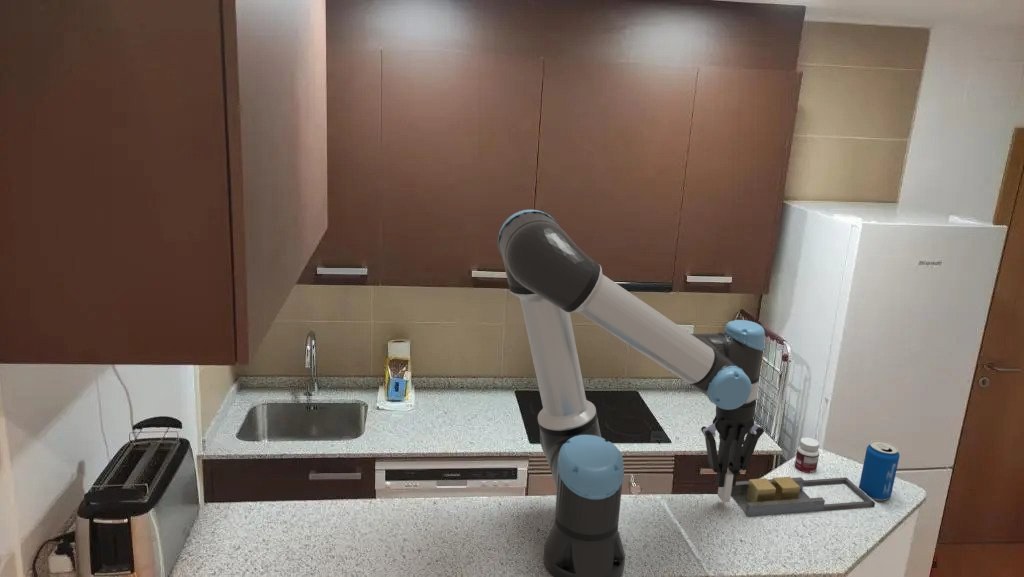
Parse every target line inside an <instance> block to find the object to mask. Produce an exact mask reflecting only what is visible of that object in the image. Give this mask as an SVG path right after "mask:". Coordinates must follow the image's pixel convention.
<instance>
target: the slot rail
mask: <svg viewBox="0 0 1024 577" xmlns="http://www.w3.org/2000/svg"><path fill="white" fill-rule="evenodd" d="M791 478H792V479H793V480H794V481H795V482H796V483H797V484H798V485H799V486H800V491H799V497H798V499H792V500H778V501H765V502H751V503H750V501H749V500H748V499H747V498H746V497H747V491H748V484H749V480H741V481H736V484H735V486H732V490H731V497H730V498H732V499H733V500H734V501H735V503H736V504H737V505H738V506H739V508H740V509H741V510H742V511H743V513H744V514H745V515H746V516H747V517H748V518H749V517H750V518H751V517H752V518H753V517H754V518H755V517H763V516H766V517H767V516H778V515H791V514H804V513H814V512H815V513H816V512H824V511H823V509H824V504H826V503H825V502H826V499H824V498H823V497H810V496H809V495H808V494H807V493H806V492H805V491H804V490H803V489H804V487H803V484H804V480H805V479H804V478H803V477H800V476H799V477H791ZM772 480H773V478H771V479H768V481H769V482H770V483H771V484H772Z"/></svg>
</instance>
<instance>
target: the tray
mask: <svg viewBox="0 0 1024 577" xmlns="http://www.w3.org/2000/svg"><path fill="white" fill-rule="evenodd" d="M803 480H804V484H803V488H804V487H814V486H828V485H829V486H830V485H831V486H832V485H843V484H844V485H845V486H846V487H848V488H849V489H850V490H851V491H852V492H853V493H854V494H856V496H858V498H860V500H861V501H852V502H851V501H849V502H839V503H838V502H837V503H824V509H823V511H822V512H829V511H830V512H831V511H843V510H854V509H856V510H857V509H866V508H867V509H869V508H874V507H875V506H876V502H875V500H873V499H871V498H870V497H869V496H868V495H867V494H866V493H865V492H863V491H862V490H861V489H860V488H859V486H857V485H855V484H854V483H853V482H852V481H851V480H850V479H849V478H847V477H845V476H844V477H834V478H831V477H830V478H818V479H803Z"/></svg>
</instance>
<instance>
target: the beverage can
mask: <svg viewBox="0 0 1024 577" xmlns="http://www.w3.org/2000/svg"><path fill="white" fill-rule="evenodd" d="M899 460H900V453H899V448H898V446H896V445H895V444H893V443H891V442H889V441H885V440H880V439H879V440H878V439H875V440H871V441H870V442H869V444H868V445H867V446H866V449H865V456H864V460H863V465H862V470H861V475H860V479H859V485H858V488H859V489H860V490H861V491H862V492H863V493H865V494H866V495H867V496H868V497H869V498H870V499H871V500H872V501H878V502H879V501H880V502H881V501H885V500H888V499H890V498H891V497H892V492H893V489H894V483H895V479H896V474H897V470H898V465H899Z"/></svg>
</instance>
